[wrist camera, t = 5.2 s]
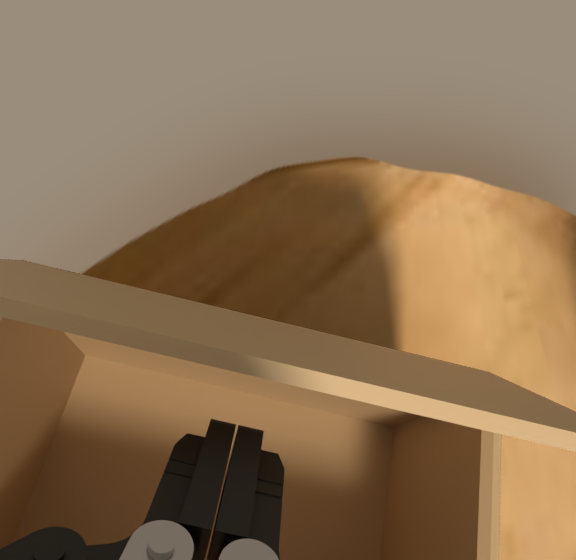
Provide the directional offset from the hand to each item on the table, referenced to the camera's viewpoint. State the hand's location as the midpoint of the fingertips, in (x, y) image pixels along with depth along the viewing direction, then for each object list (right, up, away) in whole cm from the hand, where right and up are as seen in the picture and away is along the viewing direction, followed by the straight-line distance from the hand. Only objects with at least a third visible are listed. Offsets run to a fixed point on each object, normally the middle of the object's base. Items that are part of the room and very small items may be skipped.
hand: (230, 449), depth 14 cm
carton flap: (0, +2, +5) cm, 5 cm away
